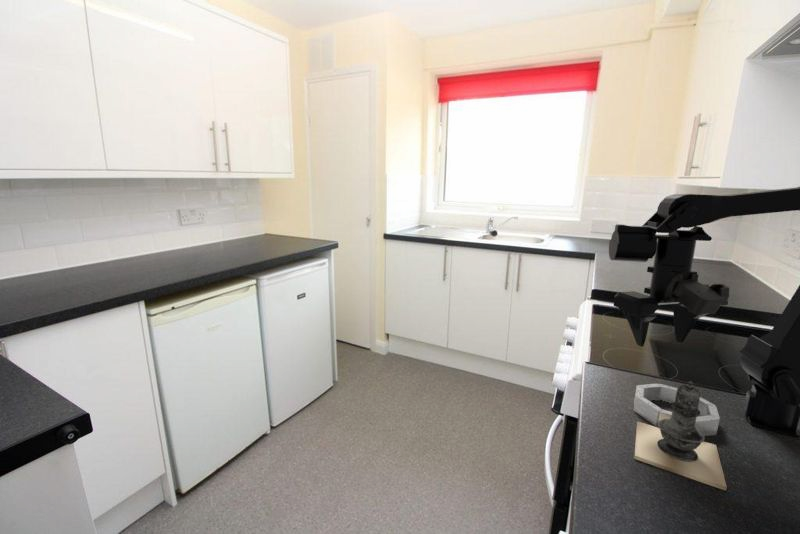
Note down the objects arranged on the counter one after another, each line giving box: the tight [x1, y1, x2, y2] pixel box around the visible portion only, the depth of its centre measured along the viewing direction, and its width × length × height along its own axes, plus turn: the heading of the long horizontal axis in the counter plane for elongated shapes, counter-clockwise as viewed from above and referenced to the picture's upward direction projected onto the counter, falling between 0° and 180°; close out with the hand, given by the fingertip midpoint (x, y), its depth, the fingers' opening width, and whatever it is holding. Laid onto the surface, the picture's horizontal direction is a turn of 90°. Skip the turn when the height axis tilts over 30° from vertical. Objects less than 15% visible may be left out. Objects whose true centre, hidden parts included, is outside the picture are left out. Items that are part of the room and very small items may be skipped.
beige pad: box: [633, 421, 728, 491], centre depth 60 cm, size 11×11×1 cm
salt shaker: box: [657, 380, 706, 462], centre depth 59 cm, size 6×6×12 cm
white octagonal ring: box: [633, 383, 721, 437], centre depth 71 cm, size 12×12×3 cm
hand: (659, 343), depth 72 cm, fingers open, 9 cm apart
